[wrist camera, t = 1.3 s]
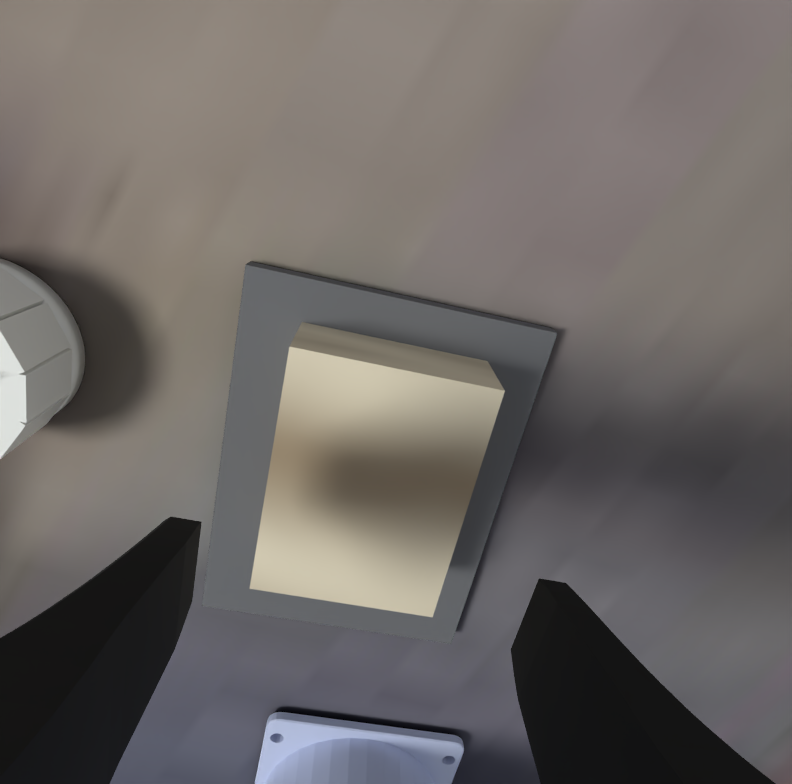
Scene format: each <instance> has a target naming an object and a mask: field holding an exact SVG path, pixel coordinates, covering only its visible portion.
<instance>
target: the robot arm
mask: <svg viewBox="0 0 792 784" xmlns="http://www.w3.org/2000/svg"><path fill="white" fill-rule="evenodd" d="M200 530H201V522H199V521H193V520H187V519H181V518H176V517H170V518H168V519H166V520H165V521H163V522H162V523H161V524H160V525H159V526H157V527H156V528H155V529H154V530H153V531H152V532H150V533H149V534H148V535H147V536H146V537H144V538H143V539H142V540H141V541H139V542H138V543H137V544H136V545H135V546H133V547H132V548H131V549H130V550H128V551H127V552H126V553H125V554H123V555H122V556H121V557H119V558H118V559H117V560H115V561H114V562H113V563H112V564H110V565H109V566H108V567H106V568H105V569H104V570H102V571H101V572H100V573H98V574H97V575H96V576H94V577H93V578H92V579H90V580H89V581H88V582H86V583H85V584H83V585H82V586H81V587H79V588H78V589H76V590H75V591H73V592H72V593H70V594H69V595H67V596H66V597H64V598H63V599H62V600H60V601H59V602H57V603H56V604H54V605H53V606H51V607H50V608H48V609H47V610H45V611H44V612H42V613H41V614H39V615H38V616H36V617H34V618H33V619H31V620H30V621H28V622H26V623H25V624H23V625H22V626H20V627H18V628H17V629H15V630H13V631H12V632H10V633H8V634H7V635H5V636H3V637H1V638H0V784H109V783H110V781H111V779H112V777H113V775H114V772H115V770H116V768H117V766H118V763H119V761H120V759H121V757H122V755H123V753H124V751H125V749H126V747H127V745H128V743H129V741H130V739H131V737H132V735H133V733H134V731H135V729H136V727H137V725H138V723H139V721H140V719H141V717H142V715H143V713H144V711H145V709H146V707H147V705H148V703H149V701H150V699H151V696H152V694H153V692H154V690H155V688H156V686H157V684H158V682H159V680H160V678H161V676H162V674H163V672H164V670H165V668H166V666H167V664H168V662H169V660H170V658H171V656H172V653H173V651H174V649H175V647H176V644H177V641H178V639H179V636H180V633H181V631H182V628H183V625H184V622H185V619H186V617H187V614H188V611H189V608H190V605H191V602H192V597H193V589H194V581H195V572H196V564H197V555H198V547H199V538H200ZM511 654H512V662H513V670H514V677H515V683H516V690H517V696H518V701H519V705H520V709H521V712H522V716H523V720H524V724H525V727H526V731H527V735H528V739H529V742H530V746H531V750H532V753H533V757H534V760H535V764H536V768H537V771H538V775H539V779H540V782H541V784H775V783H774V782H773V781H771V780H770V779H769V778H768V777H766V776H765V775H764V774H762V773H761V772H760V771H758V770H757V769H756V768H755V767H754V766H752V765H751V764H750V763H749V762H747V761H746V760H745V759H744V758H742V757H741V756H740V755H739V754H738V753H736V752H735V751H734V750H733V749H732V748H731V747H730V746H728V745H727V744H726V743H725V742H724V741H723V740H721V739H720V738H719V737H718V736H717V735H716V734H715V733H713V732H712V731H711V730H710V729H709V728H708V727H706V726H705V725H704V724H703V723H702V722H701V721H700V720H699V719H698V718H696V717H695V716H694V715H693V714H692V713H691V712H690V711H689V710H688V709H687V708H686V707H685V706H684V705H683V704H682V703H681V702H679V701H678V700H677V699H676V698H675V697H674V696H673V695H672V694H671V693H670V692H669V691H668V690H667V689H666V688H665V687H664V686H663V685H662V684H661V683H660V682H659V681H658V680H657V679H656V678H655V677H654V676H653V675H652V674H651V673H650V672H649V671H648V670H647V669H646V668H645V667H644V666H643V665H642V664H641V663H640V662H639V660H638V659H637V658H636V657H635V656H634V655H633V654H632V653H631V652H630V651H629V650H628V649H627V648H626V647H625V646H624V645H623V643H622V642H621V641H620V640H619V639H618V638H617V637H616V636H615V635H614V634H613V633H612V632H611V630H610V629H609V628H608V627H607V626H606V625H605V624H604V623H603V622H602V621H601V620H600V618H599V617H598V616H597V615H596V614H595V613H594V612H593V611H592V610H591V609H590V608H589V606H588V605H587V604H586V603H585V602H584V601H583V600H582V599H581V598H580V597H579V596H578V595H577V594H576V593H575V592H574V591H573V590H572V589H571V588H570V587H569V586H568V585H567V584H566V583H562V582H557V581H551V580H545V579H539V580H538V583H537V585H536V588H535V590H534V593H533V595H532V598H531V600H530V603H529V605H528V608H527V610H526V613H525V615H524V618H523V620H522V623H521V625H520V628H519V630H518V633H517V635H516V638H515V640H514V643H513V645H512V648H511ZM463 753H464V745H463V741H462V739H461V738H460V737H458V736H456V735H451V734H444V733H436V732H429V731H421V730H414V729H406V728H399V727H391V726H384V725H376V724H369V723H361V722H354V721H347V720H339V719H332V718H324V717H317V716H309V715H302V714H294V713H287V712H276V713H273V714H271V715H270V716H269V718H268V720H267V725H266V730H265V735H264V740H263V745H262V750H261V755H260V760H259V765H258V770H257V775H256V780H255V784H452V781H453V778H454V776H455V773H456V771H457V768H458V766H459V763H460V760H461V758H462V755H463Z"/></svg>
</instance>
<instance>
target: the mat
mask: <svg viewBox="0 0 792 784" xmlns="http://www.w3.org/2000/svg"><path fill="white" fill-rule="evenodd" d="M302 322H305V323H309V324H314V325H319V326H323V327H328V328H333V329H338V330H342V331H347V332H352V333H357V334H361V335H366V336H371V337H376V338H380V339H385V340H390V341H395V342H399V343H404V344H409V345H413V346H418V347H423V348H428V349H432V350H437V351H442V352H447V353H451V354H456V355H461V356H466V357H470V358H475V359H480V360H485V361H488V363H489V364H490V366H491V368H492V370H493V371H494V373H495V375H496V376H497V378H498V380H499V382H500V383H501V385H502V387H503V388H504V390H505V392H504V395H503V398H502V402H501V405H500V408H499V411H498V414H497V417H496V420H495V424H494V427H493V430H492V433H491V436H490V439H489V442H488V445H487V449H486V452H485V455H484V458H483V461H482V464H481V467H480V470H479V474H478V477H477V480H476V483H475V486H474V489H473V492H472V496H471V499H470V502H469V505H468V508H467V511H466V514H465V517H464V521H463V524H462V527H461V530H460V533H459V536H458V539H457V542H456V546H455V549H454V552H453V555H452V558H451V561H450V564H449V568H448V571H447V574H446V577H445V580H444V583H443V586H442V589H441V593H440V596H439V599H438V602H437V605H436V608H435V611H434V614H433V617H427V616H421V615H414V614H408V613H401V612H395V611H389V610H382V609H376V608H370V607H363V606H357V605H351V604H344V603H338V602H331V601H325V600H319V599H312V598H306V597H300V596H293V595H287V594H280V593H274V592H268V591H261V590H255V589H250V583H251V577H252V571H253V565H254V558H255V552H256V546H257V540H258V534H259V528H260V522H261V516H262V510H263V504H264V498H265V492H266V486H267V480H268V474H269V467H270V461H271V455H272V449H273V443H274V437H275V431H276V425H277V419H278V413H279V407H280V401H281V395H282V389H283V383H284V376H285V370H286V364H287V358H288V352H289V346H290V344H291V342H292V341H293V339H294V337H295V335H296V333H297V331H298V329H299V327H300V325H301V323H302ZM556 336H557V332H556V331H554V330H553V329H552V328H550V327H545V326H541V325H536V324H532V323H527V322H522V321H518V320H513V319H509V318H504V317H500V316H495V315H491V314H486V313H482V312H477V311H473V310H468V309H464V308H459V307H455V306H450V305H445V304H441V303H436V302H432V301H427V300H423V299H418V298H414V297H409V296H405V295H400V294H396V293H391V292H387V291H382V290H378V289H373V288H368V287H364V286H359V285H355V284H350V283H346V282H341V281H337V280H332V279H328V278H323V277H319V276H314V275H310V274H305V273H301V272H296V271H291V270H287V269H282V268H278V267H273V266H269V265H264V264H260V263H255V262H251V261H250V262H249V263H247V264H246V266H245V273H244V281H243V289H242V297H241V305H240V312H239V320H238V328H237V336H236V344H235V351H234V359H233V367H232V375H231V382H230V390H229V398H228V406H227V414H226V421H225V429H224V437H223V445H222V453H221V460H220V468H219V476H218V484H217V492H216V499H215V507H214V515H213V523H212V531H211V538H210V546H209V554H208V562H207V570H206V577H205V585H204V593H203V601H202V606H204V607H211V608H217V609H224V610H231V611H237V612H244V613H250V614H257V615H263V616H270V617H277V618H283V619H290V620H296V621H303V622H309V623H316V624H323V625H329V626H336V627H342V628H349V629H355V630H362V631H369V632H375V633H382V634H388V635H395V636H401V637H408V638H414V639H421V640H428V641H434V642H441V643H447V644H451V643H452V640H453V637H454V634H455V631H456V628H457V625H458V622H459V620H460V617H461V614H462V611H463V608H464V605H465V602H466V599H467V596H468V593H469V590H470V587H471V585H472V582H473V579H474V576H475V573H476V570H477V567H478V564H479V561H480V558H481V555H482V552H483V549H484V547H485V544H486V541H487V538H488V535H489V532H490V529H491V526H492V523H493V520H494V517H495V514H496V511H497V509H498V506H499V503H500V500H501V497H502V494H503V491H504V488H505V485H506V482H507V479H508V476H509V473H510V471H511V468H512V465H513V462H514V459H515V456H516V453H517V450H518V447H519V444H520V441H521V438H522V435H523V433H524V430H525V427H526V424H527V421H528V418H529V415H530V412H531V409H532V406H533V403H534V400H535V397H536V395H537V392H538V389H539V386H540V383H541V380H542V377H543V374H544V371H545V368H546V365H547V362H548V360H549V357H550V354H551V351H552V348H553V345H554V342H555V339H556Z"/></svg>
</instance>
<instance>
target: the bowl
mask: <svg viewBox="0 0 792 784" xmlns="http://www.w3.org/2000/svg"><path fill="white" fill-rule="evenodd" d="M84 369H85V349H84V344H83V339H82V336H81V333H80V330H79V327H78V325H77V323H76V321H75V319H74V317H73V315H72V314H71V312H70V310H69V309H68V307H67V306H66V304H65V303H64V302H63V301H62V299H61V298H60V297H59V296H58V295H57V294H56V293H55V291H54V290H53V289H52V288H51V287H50V286H48V285H47V284H46V283H45V282H44V281H42V280H41V279H40V278H39V277H37V276H36V275H34V274H33V273H31V272H30V271H28V270H26V269H24V268H23V267H21V266H19V265H17V264H15V263H12V262H10V261H7V260H4V259H1V258H0V459H1V458H3V457H4V456H5V455H7V454H8V453H9V452H11V451H12V450H13V449H14V448H16V447H17V446H18V445H20V444H21V443H22V442H24V441H25V440H26V439H28V438H29V437H30V436H32V435H33V434H34V433H36V432H37V431H38V430H40V429H41V428H42V427H44V426H45V425H46V424H47V423H48V422H49V421H50V419H51V418H52V417H53V415H55V414H56V413H57V412H59V411H60V410H61V409H62V408H64V407H65V406H66V405H67V404H68V403H69V402H70V401H71V400H72V399H73V397H74V396H75V394H76V392H77V391H78V389H79V387H80V384H81V382H82V378H83V375H84Z"/></svg>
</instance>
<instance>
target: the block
mask: <svg viewBox="0 0 792 784" xmlns="http://www.w3.org/2000/svg"><path fill="white" fill-rule="evenodd" d="M504 392H505V390H504V388H503V387H502V385H501V383H500V382H499V380H498V378H497V376H496V375H495V373H494V371H493V370H492V368H491V366H490V364H489V363H488V361H485V360H480V359H475V358H470V357H466V356H461V355H456V354H451V353H447V352H442V351H437V350H432V349H428V348H423V347H418V346H413V345H409V344H404V343H399V342H395V341H390V340H385V339H380V338H376V337H371V336H366V335H361V334H357V333H352V332H347V331H342V330H338V329H333V328H328V327H323V326H319V325H314V324H309V323H305V322H302V323H301V325H300V327H299V329H298V331H297V333H296V335H295V337H294V339H293V341H292V342H291V344H290V346H289V352H288V358H287V364H286V370H285V376H284V383H283V389H282V395H281V401H280V407H279V413H278V419H277V425H276V431H275V437H274V443H273V449H272V455H271V461H270V467H269V474H268V480H267V486H266V492H265V498H264V504H263V510H262V516H261V522H260V528H259V534H258V540H257V546H256V552H255V558H254V565H253V571H252V577H251V583H250V589H255V590H261V591H268V592H274V593H280V594H287V595H293V596H300V597H306V598H312V599H319V600H325V601H331V602H338V603H344V604H351V605H357V606H363V607H370V608H376V609H382V610H389V611H395V612H401V613H408V614H414V615H421V616H427V617H433V614H434V611H435V608H436V605H437V602H438V599H439V596H440V593H441V589H442V586H443V583H444V580H445V577H446V574H447V571H448V568H449V564H450V561H451V558H452V555H453V552H454V549H455V546H456V542H457V539H458V536H459V533H460V530H461V527H462V524H463V521H464V517H465V514H466V511H467V508H468V505H469V502H470V499H471V496H472V492H473V489H474V486H475V483H476V480H477V477H478V474H479V470H480V467H481V464H482V461H483V458H484V455H485V452H486V449H487V445H488V442H489V439H490V436H491V433H492V430H493V427H494V424H495V420H496V417H497V414H498V411H499V408H500V405H501V402H502V398H503V395H504Z"/></svg>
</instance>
